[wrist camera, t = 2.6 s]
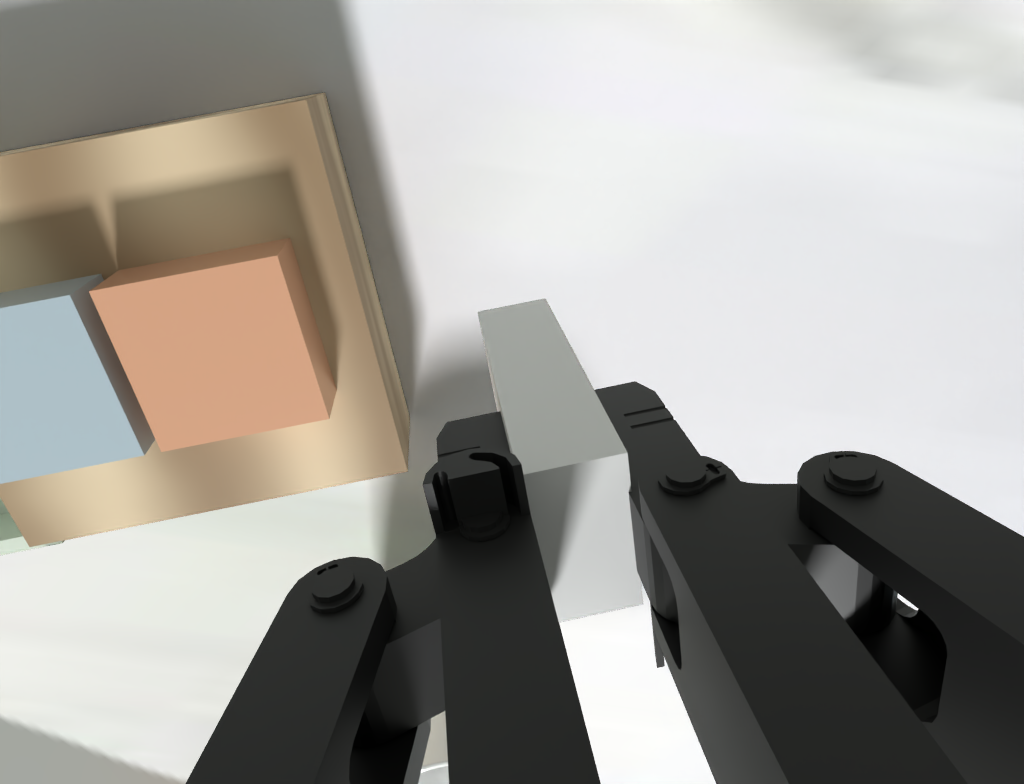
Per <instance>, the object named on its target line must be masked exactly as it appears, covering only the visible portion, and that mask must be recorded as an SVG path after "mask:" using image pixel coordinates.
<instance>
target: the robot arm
mask: <svg viewBox="0 0 1024 784" xmlns="http://www.w3.org/2000/svg"><path fill="white" fill-rule="evenodd" d="M478 316H479V321H480V326H481V331H482V336H483V342H484V347H485V352H486V357H487V362H488V367H489V372H490V377H491V382H492V387H493V392H494V397H495V403H496V408H497V412H494V413H489V414H485V415H480V416H475V417H470V418H465V419H460V420H455V421H451V422H447V423H446V424H445V426H444V428H443V429H442V431H441V432H440V434H439V436H438V437H437V454H438V462H437V463H436V464H435V465H434V466H433V467H432V468H431V469H430V470H429V471H428V472H427V473H426V476H425V479H424V482H423V488H424V492H425V495H426V499H427V503H428V507H429V510H430V514H431V518H432V522H433V525H434V529H435V533H436V539H435V540H434V541H433V542H432V544H431V545H430V546H429V547H428V548H427V549H426V550H424V551H423V552H422V553H421V554H419V555H418V556H417V557H415V558H413V559H411V560H409V561H407V562H406V563H404V564H402V565H399V566H397V567H395V568H393V569H390V570H388V571H386V572H385V571H384V569H383V567H382V566H381V565H380V564H379V563H377V562H375V561H373V560H371V559H369V558H360V557H348V558H343V559H337V560H333V561H330V562H328V563H326V564H323V565H321V566H319V567H317V568H314V569H313V570H312V571H310V572H309V573H308V574H306V575H305V576H304V577H302V578H301V579H299V580H298V582H297V583H296V584H295V585H294V587H293V588H292V589H291V590H290V592H289V593H288V594H287V596H286V598H285V600H284V602H283V604H282V605H281V607H280V609H279V611H278V613H277V615H276V617H275V618H274V620H273V622H272V624H271V626H270V628H269V630H268V631H267V633H266V635H265V637H264V639H263V641H262V643H261V645H260V646H259V648H258V650H257V652H256V654H255V656H254V658H253V659H252V661H251V663H250V665H249V667H248V669H247V671H246V672H245V674H244V676H243V678H242V680H241V682H240V684H239V685H238V687H237V689H236V691H235V693H234V695H233V697H232V698H231V700H230V702H229V704H228V706H227V708H226V710H225V711H224V713H223V715H222V717H221V719H220V721H219V723H218V725H217V726H216V728H215V730H214V732H213V734H212V736H211V738H210V739H209V741H208V743H207V745H206V747H205V749H204V751H203V752H202V754H201V756H200V758H199V760H198V762H197V764H196V765H195V767H194V769H193V771H192V773H191V775H190V777H189V778H188V780H187V782H186V784H418V782H419V777H420V773H421V769H422V765H423V760H424V756H425V752H426V748H427V743H428V739H429V735H430V731H431V718H433V717H434V716H436V715H438V714H440V713H442V712H444V711H445V716H446V735H447V754H448V773H449V784H601V783H600V780H599V776H598V772H597V768H596V764H595V760H594V756H593V753H592V749H591V745H590V741H589V737H588V733H587V729H586V726H585V722H584V718H583V714H582V710H581V706H580V702H579V698H578V695H577V691H576V687H575V683H574V679H573V675H572V671H571V668H570V664H569V660H568V656H567V652H566V648H565V644H564V641H563V637H562V633H561V629H560V625H559V622H564V621H569V620H573V619H578V618H582V617H587V616H591V615H596V614H601V613H605V612H610V611H614V610H619V609H624V608H628V607H633V606H637V605H642V604H643V596H642V586H641V581H642V584H643V586H644V588H645V591H646V593H647V595H648V598H649V600H650V605H651V615H652V626H653V636H654V646H655V656H656V663H657V668H658V667H663V666H664V657H665V660H666V662H667V664H668V667H669V669H670V672H671V674H672V677H673V679H674V681H675V684H676V686H677V689H678V691H679V694H680V696H681V698H682V701H683V703H684V706H685V708H686V711H687V713H688V716H689V718H690V720H691V723H692V725H693V728H694V730H695V733H696V735H697V737H698V740H699V742H700V745H701V747H702V750H703V752H704V755H705V757H706V759H707V762H708V764H709V767H710V769H711V772H712V774H713V776H714V779H715V781H716V784H1024V537H1023V536H1021V535H1020V534H1018V533H1016V532H1014V531H1013V530H1011V529H1009V528H1007V527H1006V526H1004V525H1002V524H1000V523H998V522H997V521H995V520H993V519H991V518H990V517H988V516H986V515H984V514H983V513H981V512H979V511H977V510H975V509H974V508H972V507H970V506H968V505H967V504H965V503H963V502H961V501H960V500H958V499H956V498H954V497H952V496H951V495H949V494H947V493H945V492H944V491H942V490H940V489H938V488H937V487H935V486H933V485H931V484H929V483H928V482H926V481H924V480H922V479H921V478H919V477H917V476H915V475H913V474H912V473H910V472H908V471H906V470H905V469H903V468H901V467H899V466H898V465H896V464H894V463H892V462H890V461H887V460H885V459H882V458H880V457H878V456H875V455H871V454H865V453H860V452H854V451H839V452H829V453H825V454H821V455H817V456H814V457H813V458H811V459H809V460H808V461H806V462H805V463H803V464H802V466H801V468H800V470H799V472H798V475H797V484H755V483H746V482H741V481H740V480H739V479H738V478H737V476H736V475H735V474H734V472H733V471H732V470H731V469H729V468H728V467H727V466H726V465H725V464H723V463H722V462H720V461H717V460H715V459H712V458H709V457H706V456H700V454H699V453H698V452H697V450H696V449H695V447H694V446H693V445H692V443H691V442H690V440H689V439H688V437H687V436H686V435H685V433H684V432H683V430H682V429H681V428H680V426H679V425H678V423H677V422H676V420H674V419H673V416H672V415H671V413H670V412H669V411H668V409H667V408H665V405H664V404H663V402H662V401H661V399H660V398H659V396H658V395H657V394H656V392H655V391H653V390H651V389H649V388H647V387H645V386H643V385H641V384H639V383H637V382H631V383H626V384H621V385H616V386H611V387H606V388H601V389H596V390H594V389H593V387H592V385H591V383H590V381H589V379H588V378H587V376H586V374H585V372H584V370H583V368H582V366H581V364H580V362H579V361H578V359H577V357H576V355H575V353H574V351H573V349H572V347H571V346H570V344H569V342H568V340H567V338H566V336H565V334H564V332H563V331H562V329H561V327H560V325H559V323H558V321H557V319H556V317H555V316H554V314H553V312H552V310H551V308H550V306H549V304H548V302H547V301H546V299H540V300H535V301H530V302H525V303H520V304H515V305H510V306H505V307H500V308H495V309H490V310H485V311H480V312H478ZM898 593H899V594H900V595H901V596H903V597H904V598H905V599H907V600H908V601H909V602H911V603H912V604H913V605H915V606H916V607H917V608H919V609H918V611H917V610H914V609H912V608H911V607H909V606H907V605H906V604H905V603H903V602H902V601H901V600H899V599H898V598H897V595H898Z"/></svg>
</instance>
